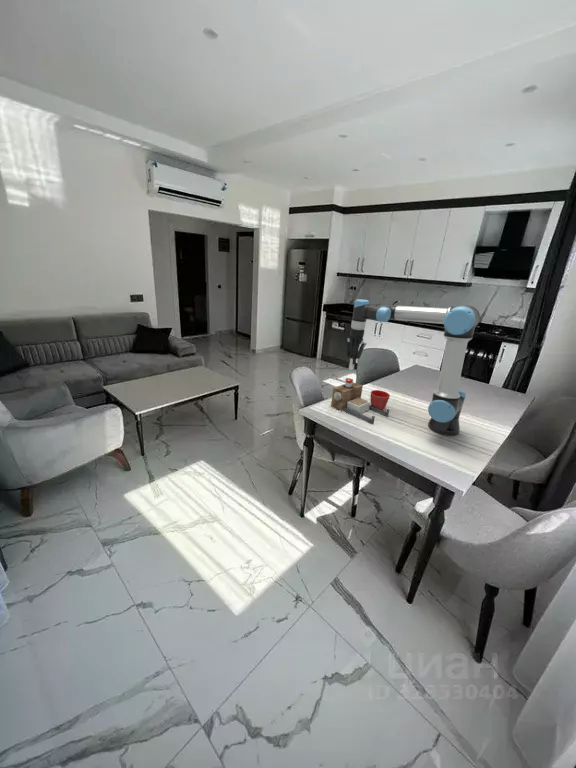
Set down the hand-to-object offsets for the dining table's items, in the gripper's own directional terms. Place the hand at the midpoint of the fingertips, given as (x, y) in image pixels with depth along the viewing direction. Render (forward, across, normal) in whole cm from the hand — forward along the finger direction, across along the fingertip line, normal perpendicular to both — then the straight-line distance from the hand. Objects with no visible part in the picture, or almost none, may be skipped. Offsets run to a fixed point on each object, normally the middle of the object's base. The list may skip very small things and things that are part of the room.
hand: (351, 369), depth 180 cm
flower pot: (+23, -14, -13) cm, 30 cm away
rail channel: (+23, -14, 0) cm, 27 cm away
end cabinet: (+23, 0, 0) cm, 23 cm away
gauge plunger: (+14, 0, 0) cm, 14 cm away
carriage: (+23, -9, 0) cm, 24 cm away
